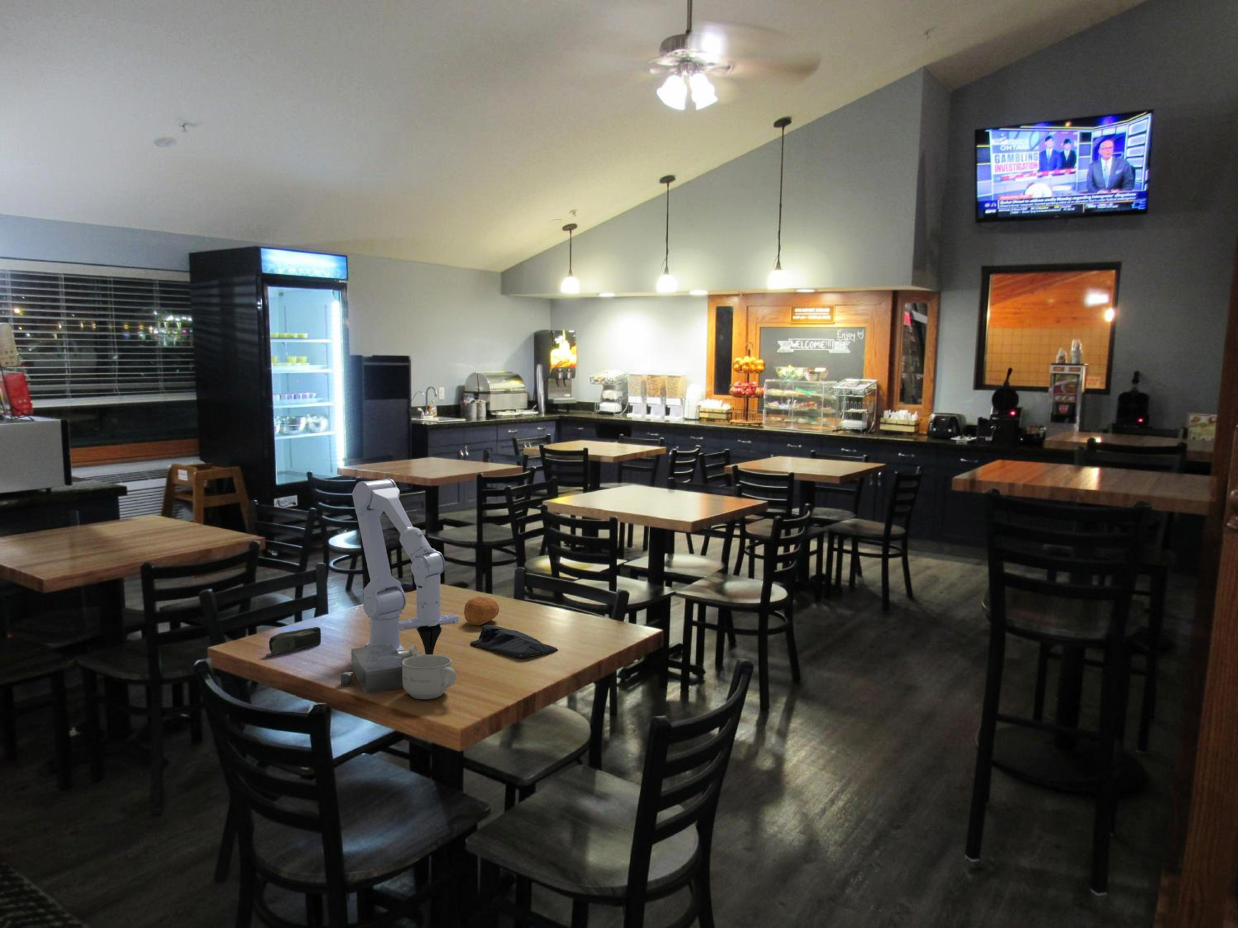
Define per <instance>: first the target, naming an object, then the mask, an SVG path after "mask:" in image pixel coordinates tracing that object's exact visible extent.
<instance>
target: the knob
mask: <svg viewBox="0 0 1238 928" xmlns="http://www.w3.org/2000/svg"><path fill="white" fill-rule="evenodd" d="M398 653H399V654H400V655H401V657H402V658H409V657H412V656H415V653H418V648H417V646H416V645H410V646H409V647H408V650H405V651H400V652H398Z"/></svg>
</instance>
